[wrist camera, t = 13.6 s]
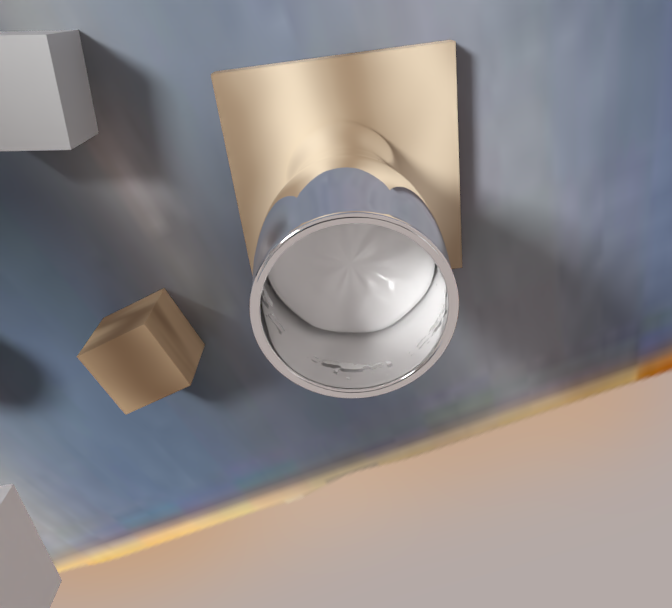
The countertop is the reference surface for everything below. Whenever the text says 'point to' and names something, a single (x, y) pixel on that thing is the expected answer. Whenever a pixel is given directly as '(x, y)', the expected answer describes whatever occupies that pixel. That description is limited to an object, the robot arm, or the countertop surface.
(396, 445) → the countertop surface
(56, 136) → the grey plastic box
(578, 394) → the countertop surface
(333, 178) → the silver metal cup
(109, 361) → the oak cube
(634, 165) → the countertop surface
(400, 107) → the beech board
